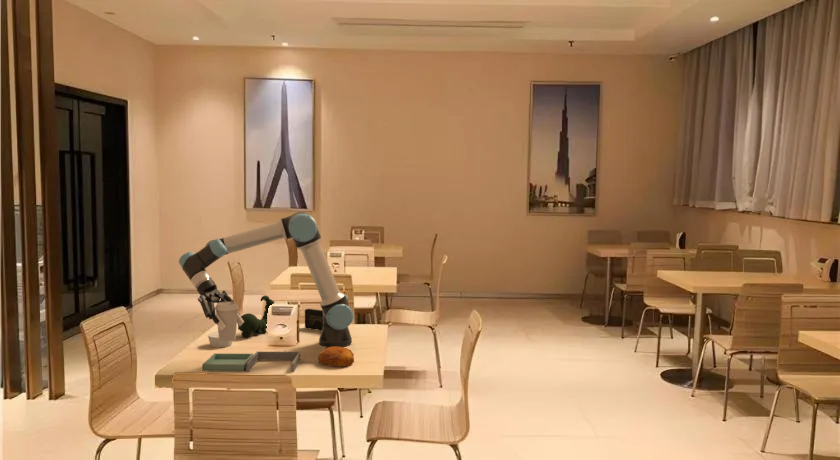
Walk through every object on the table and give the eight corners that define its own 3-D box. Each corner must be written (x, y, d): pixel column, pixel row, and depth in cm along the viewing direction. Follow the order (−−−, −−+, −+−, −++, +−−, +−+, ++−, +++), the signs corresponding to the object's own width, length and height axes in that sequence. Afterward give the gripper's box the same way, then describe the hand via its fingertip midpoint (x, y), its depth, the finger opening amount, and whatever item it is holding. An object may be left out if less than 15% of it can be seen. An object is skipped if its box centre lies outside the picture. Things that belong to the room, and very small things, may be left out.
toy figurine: (262, 331, 346) (228, 338, 323) (264, 293, 345) (230, 297, 322) (278, 334, 341) (244, 340, 318) (280, 295, 341) (246, 299, 318)
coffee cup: (232, 343, 274) (232, 306, 272) (210, 341, 275) (210, 305, 274) (243, 337, 283) (243, 301, 282) (222, 336, 285) (221, 300, 283)
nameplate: (304, 328, 347) (304, 309, 347) (307, 327, 349) (307, 308, 348) (338, 333, 337) (338, 313, 336) (340, 332, 339) (340, 312, 338)
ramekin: (209, 349, 304) (209, 338, 304) (206, 343, 315) (206, 332, 314) (235, 347, 309) (235, 335, 308) (231, 341, 319) (231, 330, 319)
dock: (300, 359, 289) (300, 351, 289) (293, 372, 271) (293, 363, 271) (256, 359, 289) (256, 351, 288) (246, 371, 271) (246, 363, 270)
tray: (253, 359, 289) (253, 353, 288) (244, 370, 272) (244, 364, 272) (214, 359, 288) (214, 353, 288) (202, 370, 272) (202, 364, 271)
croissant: (341, 375, 275) (343, 356, 274) (311, 364, 283) (313, 345, 281) (362, 365, 288) (363, 347, 286) (332, 355, 295) (334, 337, 294)
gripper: (219, 286, 295) (247, 326, 288) (178, 294, 275) (207, 337, 269) (228, 275, 292) (256, 315, 285) (187, 282, 272) (217, 325, 266)
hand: (232, 326), depth 277 cm, fingers closed on coffee cup, 9 cm apart
